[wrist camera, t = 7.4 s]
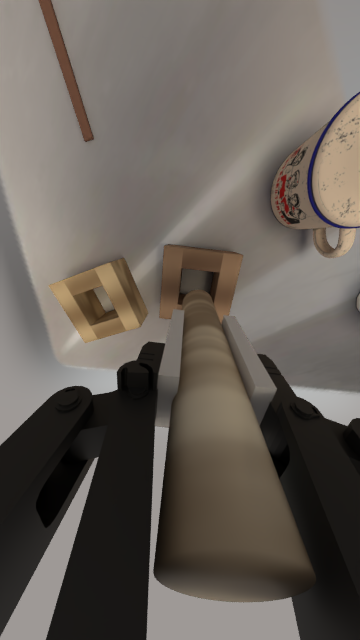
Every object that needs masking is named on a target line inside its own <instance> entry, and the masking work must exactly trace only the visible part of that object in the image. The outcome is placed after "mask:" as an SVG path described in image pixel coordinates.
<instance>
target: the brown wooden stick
mask: <svg viewBox="0 0 360 640" xmlns="http://www.w3.org/2000/svg"><path fill="white" fill-rule="evenodd" d="M39 3H40V6H41V9H42V12H43V15H44V18H45V21H46V24H47V27H48V30H49V33H50V36H51V39H52V42H53V46H54V49H55V52H56V55H57V58H58V61H59V64H60V67H61V70H62V73H63V76H64V79H65V82H66V85H67V88H68V91H69V94H70V97H71V101H72V104H73V107H74V110H75V113H76V116H77V119H78V122H79V125H80V128H81V131H82V134H83V137H84V140H85V141H86V142H87V141H90V140H93V139H94V138H93V135H92V132H91V128H90V125H89V122H88V119H87V115H86V112H85V109H84V106H83V103H82V99H81V96H80V93H79V90H78V87H77V83H76V80H75V77H74V74H73V70H72V67H71V64H70V61H69V58H68V54H67V51H66V48H65V45H64V41H63V38H62V35H61V32H60V29H59V25H58V22H57V19H56V16H55V12H54V9H53V6H52V3H51V0H39Z"/></svg>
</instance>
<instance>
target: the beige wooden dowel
mask: <svg viewBox="0 0 360 640" xmlns="http://www.w3.org/2000/svg"><path fill="white" fill-rule="evenodd" d="M182 310H184V323H183V336H182V350H181V364H180V378H179V385H178V392H177V394H176V395H175V397H174V399H173V401H172V405H171V414H170V423H169V433H168V442H167V451H166V461H165V469H164V478H163V488H162V497H161V507H160V515H159V524H158V534H157V543H156V552H155V562H154V576H155V578H156V579H157V580H158V581H159V582H160V583H161V584H163V585H164V586H166V587H168V588H170V589H172V590H174V591H177V592H180V593H183V594H186V595H189V596H194V597H198V598H203V599H209V600H217V601H226V602H264V601H273V600H279V599H284V598H289V597H293V596H296V595H299V594H301V593H304V592H306V591H307V590H309V589H310V588H311V587H313V585H314V584H315V582H316V575H315V573H314V570H313V567H312V565H311V562H310V559H309V557H308V554H307V551H306V549H305V546H304V543H303V541H302V538H301V535H300V533H299V530H298V527H297V525H296V522H295V519H294V517H293V514H292V511H291V509H290V506H289V503H288V501H287V498H286V495H285V493H284V490H283V487H282V485H281V482H280V479H279V477H278V474H277V471H276V469H275V466H274V463H273V461H272V458H271V455H270V453H269V450H268V447H267V445H266V442H265V439H264V437H263V434H262V431H261V429H260V426H259V423H258V421H257V418H256V415H255V413H254V410H253V407H252V405H251V402H250V399H249V397H248V394H247V391H246V389H245V386H244V383H243V381H242V378H241V375H240V373H239V370H238V367H237V365H236V362H235V359H234V357H233V354H232V351H231V349H230V346H229V343H228V341H227V338H226V335H225V333H224V330H223V327H222V325H221V322H220V319H219V317H218V314H217V311H216V309H215V306H214V303H213V301H212V298H211V296H210V295H209V294H208V293H207V292H205V291H203V290H193V291H190V292H189V293H188V294H187V295H186V296H185V297H184V299H183V304H182Z"/></svg>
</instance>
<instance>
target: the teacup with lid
mask: <svg viewBox="0 0 360 640" xmlns="http://www.w3.org/2000/svg"><path fill="white" fill-rule="evenodd" d="M271 205H272V209H273V212H274V214H275V216H276V218H277V219H278V220H279V222H280V223H282V224H283V225H284V226H286V227H289V228H292V229H313V240H314V245H315V247H316V249H317V251H318V252H319V253H320V254H321V255H323V256H324V257H327V258H336V257H340V256H342V255H344V254H346V253H347V252H348V251H349V249H350V248H351V246H352V244H353V242H354V238H355V233H356V228H359V227H360V92H359V93H357V94H356V95H355V96H353V97H352V98H351V99H350V100H349V101H348V102H347V103H346V104H345V105H344V106H343V107H342V108H341V109H340V110H339V111H338V112H337V113H336V114H335V115H334V117H333V118H332V119H331V120H330V121H329V122H328V123H327V124H326V125H325V126H323V127H322V128H321V129H320V130H319V131H317V132H316V133H315V134H314V135H313V136H311V137H310V138H309V139H308V140H307V141H305V142H304V143H303V144H302V145H301V146H299V147H298V148H297V149H296V150H295V151H294V152H292V153H291V154H290V155H289V156H288V157H287V159H286V160H285V161H284V162H283V164H282V165H281V167H280V168H279V170H278V172H277V174H276V176H275V178H274V181H273V185H272V190H271ZM326 227H337V228H340V231H339V240H338V244H337V247H336V248H335V249H334V248H332V247H331V246H330V245H329V243H328V242H327V239H326Z"/></svg>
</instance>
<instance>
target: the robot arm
mask: <svg viewBox="0 0 360 640" xmlns="http://www.w3.org/2000/svg"><path fill="white" fill-rule="evenodd" d="M183 323H184V310H177V309H173V313H172V317H171V322H170V326H169V330H168V335H167V339H166V343H165V344H164V343H156V342H148V343H146V344H145V345H144V346H143V347H142V349H141V351H140V354H139V356H138V359H137V360H136V361H131V362H128V363H125V364H124V365H122V366H121V367H120V368H119V370H118V371H117V384H118V390H115V391H113V392H109V393H104V394H97V395H92V393H91V392H90V390H89V389H88V388H85V387H83V386H72V387H67V388H64V389H63V390H60V391H58V392H56V393H55V394H54V395H52V396H51V397H50V398H49V399H48V400H47V401H46V402H45V403H44V404H43V405H42V406H41V407H39V408H38V409H37V410H36V411H35V412H34V413H33V414H32V415H31V416H30V417H29V418H28V419H27V420H26V421H25V422H24V423H23V424H22V425H21V426H20V427H19V428H18V429H17V430H16V431H15V432H14V433H13V434H12V435H11V436H10V437H9V438H8V439H7V440H6V441H5V442H4V443H2V444H1V446H0V636H1V634H2V632H3V630H4V628H5V626H6V624H7V623H8V621H9V619H10V617H11V615H12V613H13V611H14V609H15V608H16V606H17V604H18V602H19V600H20V598H21V596H22V594H23V592H24V590H25V589H26V587H27V585H28V583H29V581H30V579H31V577H32V576H33V574H34V571H35V570H36V568H37V566H38V564H39V562H40V560H41V558H42V557H43V555H44V553H45V551H46V549H47V547H48V545H49V543H50V542H51V539H52V538H53V536H54V534H55V532H56V530H57V528H58V527H59V525H60V523H61V521H62V519H63V517H64V515H65V513H66V511H67V510H68V508H69V506H70V504H71V502H72V500H73V498H74V496H75V494H76V493H77V491H78V489H79V487H80V485H81V483H82V481H83V479H84V478H85V476H86V474H87V472H88V470H89V468H90V466H91V464H92V462H93V461H94V458H96V457H99V458H98V461H97V465H96V468H95V472H94V475H93V479H92V482H91V486H90V489H89V492H88V496H87V500H86V503H85V506H84V510H83V513H82V517H81V520H80V524H79V527H78V531H77V534H76V537H75V541H74V544H73V548H72V551H71V555H70V558H69V562H68V565H67V569H66V572H65V576H64V579H63V583H62V586H61V590H60V593H59V596H58V600H57V603H56V607H55V610H54V614H53V617H52V621H51V624H50V628H49V631H48V635H47V638H46V640H146V633H147V609H148V582H149V558H150V533H151V509H152V508H151V507H152V483H153V458H154V433H155V426H159V427H167V428H169V423H170V414H171V405H172V401H173V399H174V397H175V395H176V394H177V392H178V385H179V378H180V364H181V350H182V336H183ZM222 327H223V330H224V333H225V335H226V338H227V341H228V343H229V346H230V349H231V351H232V354H233V357H234V359H235V362H236V365H237V367H238V370H239V373H240V375H241V378H242V381H243V383H244V386H245V389H246V391H247V394H248V397H249V399H250V402H251V405H252V407H253V410H254V413H255V415H256V418H257V421H258V423H259V426H260V429H261V431H262V434H263V437H264V439H265V442H266V445H267V447H268V450H269V453H270V455H271V458H272V461H273V463H274V466H275V469H276V471H277V474H278V477H279V479H280V482H281V485H282V487H283V490H284V493H285V495H286V498H287V501H288V503H289V506H290V509H291V511H292V514H293V517H294V519H295V522H296V525H297V527H298V530H299V533H300V535H301V538H302V541H303V543H304V546H305V549H306V551H307V554H308V557H309V559H310V562H311V565H312V567H313V570H314V573H315V575H316V582H315V584H314V585H313V587H311V588H310V589H309V590H307V591H306V592H304V593H301V594H299V595H296V596H293V597H292V602H293V606H294V612H295V616H296V621H297V626H298V630H299V635H300V640H360V418H356V419H353V420H352V421H351V422H350V424H349V425H348V426H345V425H342V424H339V423H337V422H334V421H331V420H328V419H326V418H324V417H323V415H322V414H321V413H320V411H319V410H318V409H317V408H316V407H315V406H313V405H312V404H311V403H310V402H308V401H306V400H304V399H302V398H299V397H297V396H296V395H295V393H294V392H293V390H292V389H291V387H290V386H289V384H288V383H287V382H286V380H285V379H284V377H283V376H282V375H281V373H280V371H279V370H278V369H277V367H276V365H275V364H274V362H273V361H272V360H271V359H269V358H268V357H267V356H266V355H262V354H256V352H255V350H254V349H253V347H252V345H251V344H250V342H249V340H248V338H247V337H246V335H245V333H244V332H243V330H242V328H241V326H240V325H239V323H238V321H237V320H236V318H235V316H227V315H224V316H223V320H222Z"/></svg>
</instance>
